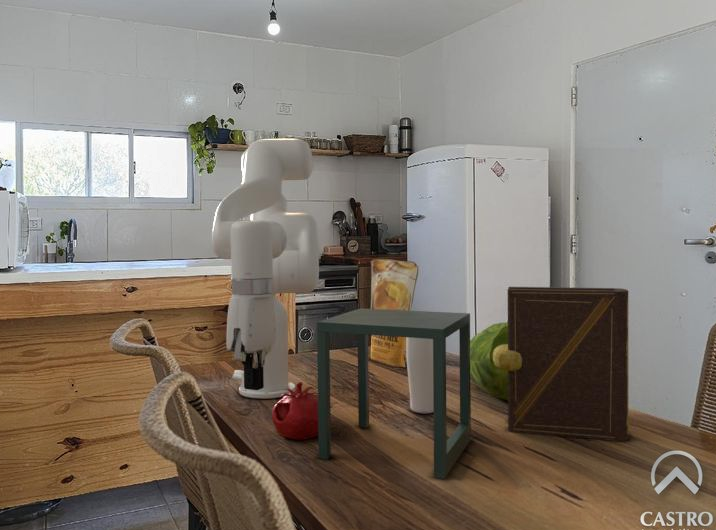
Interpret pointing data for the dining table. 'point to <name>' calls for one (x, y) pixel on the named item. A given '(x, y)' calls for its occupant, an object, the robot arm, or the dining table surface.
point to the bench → (438, 330)
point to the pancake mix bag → (391, 304)
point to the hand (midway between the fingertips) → (253, 388)
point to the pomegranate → (297, 414)
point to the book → (567, 361)
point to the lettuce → (489, 360)
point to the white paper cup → (420, 374)
